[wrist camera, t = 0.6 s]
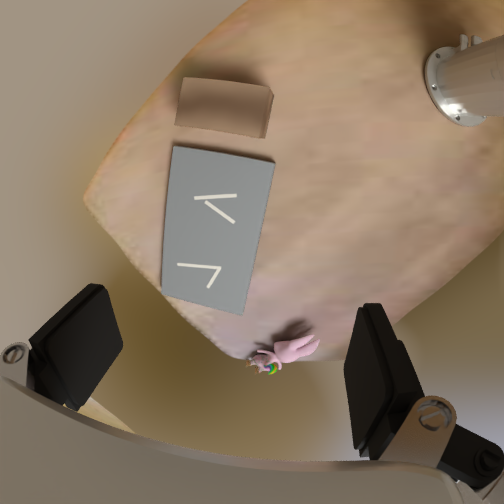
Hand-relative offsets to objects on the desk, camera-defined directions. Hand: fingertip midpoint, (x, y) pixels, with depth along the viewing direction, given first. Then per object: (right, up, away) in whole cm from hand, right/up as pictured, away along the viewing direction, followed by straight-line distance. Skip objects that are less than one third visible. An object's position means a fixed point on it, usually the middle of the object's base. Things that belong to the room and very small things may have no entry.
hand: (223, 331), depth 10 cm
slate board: (-5, +5, +32) cm, 33 cm away
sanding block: (-2, +22, +25) cm, 33 cm away
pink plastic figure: (+6, -14, +39) cm, 42 cm away
